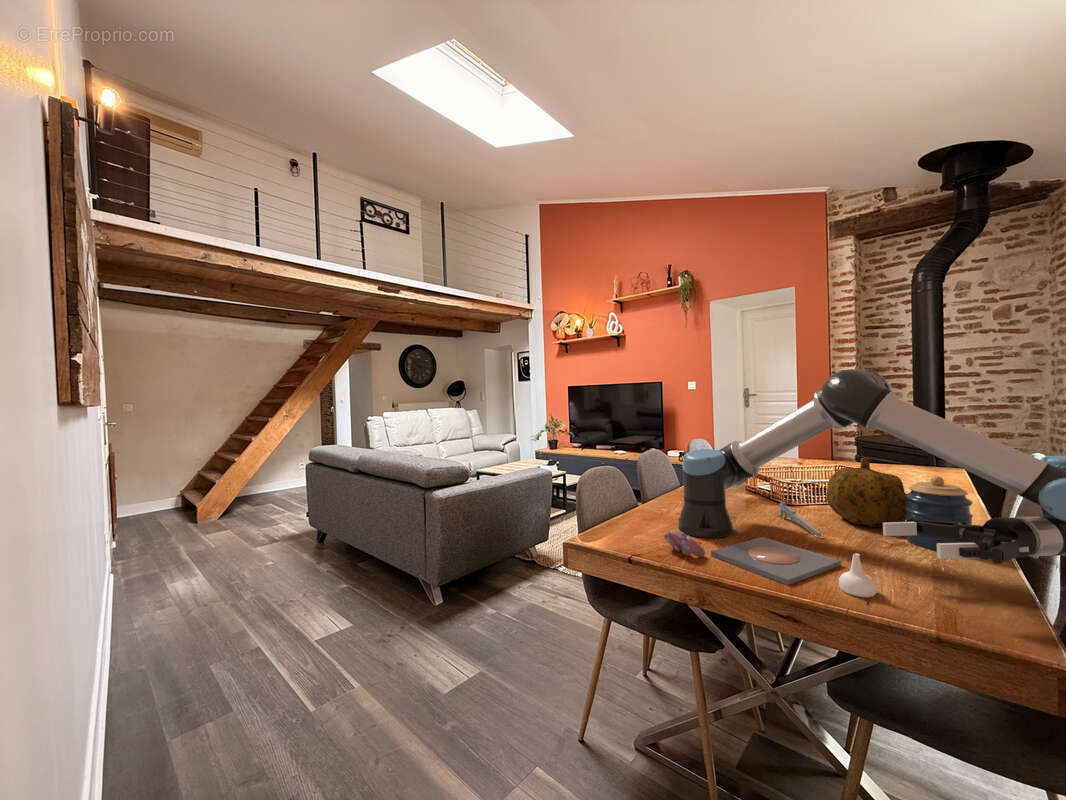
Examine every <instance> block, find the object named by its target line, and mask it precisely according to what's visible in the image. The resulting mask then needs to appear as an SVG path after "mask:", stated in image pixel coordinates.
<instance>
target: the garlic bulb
mask: <svg viewBox="0 0 1066 800" xmlns="http://www.w3.org/2000/svg"><path fill="white" fill-rule="evenodd" d="M860 556H861V554H860V553H856V552H855V553H853V554H852V557H851V558H852V560H851V564H850V569H849V571H845V572H843V573H842V574H841V575H840V576H839V578H838V585H839V588H840V590H842V591H843V592H844V593H846V594H849V595H850V596H855V597H859V598H872V597H875V596H876V595H877V592H878V586H877V584H876V582H875V580H874V579H873V578H872V577H871V576H870V575H868V574H866V573H864V570H863V567H862V563H861V557H860Z"/></svg>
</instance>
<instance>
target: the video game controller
mask: <svg viewBox="0 0 1066 800" xmlns="http://www.w3.org/2000/svg"><path fill="white" fill-rule="evenodd" d="M663 537H664V540H665V541H666V543H668V544H669V545H671V546H672V548H673V549H674V550H675V551H676V552H678V553H679V552H682V554H683V555H685V556H687V557H688V556H689V555H691V554H693V555H694V556H696V557H698V558H704V557H705V553H706V552H705V550H704V548H703V546H700V544H698V543H697V542H696V541H695V540H694V539H693V538H691V537H692V536H691V535H688V534H686V533H683V532H682V531H680V530H673V529H671V530H669V531H667V532H666V533H664V535H663Z"/></svg>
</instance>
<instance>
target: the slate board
mask: <svg viewBox="0 0 1066 800" xmlns="http://www.w3.org/2000/svg"><path fill="white" fill-rule="evenodd" d="M710 556H711V557H713V558H715V559H718V560H721V561H723V562H726V563H729V564H731V565H734V566H736V567H739V568H742V569H744V570H747V571H750V572H753V573H755V574H757V575H760V576H762V577H765V578H768V579H770V580H773V581H776V582H778V583H781V584H783V585H786V586H789V585H792V584H795V583H797V582H798V583H799V582H801V581H804V580H806V579H809V578H811V577H814V576H818V575H819V574H820V575H821V574H822V573H825V572H829V571H830V569H831V570H834V569H835V567H836V568H838V566H839V567H840V566H842V560H839V559H837V558H833V557H831V556H827V555H824V554H820V553H817V552H814V551H811V550H807V549H804V548H801V547H797V546H794V545H790V544H787V543H784V542H781V541H778V540H773V539H771V538H767V537H764V536H761V537H757V538H754V539H750V540H747V541H743V542H739V543H735V544H730V545H728V546H725V547H721V548H718V549H713V550H711V551H710Z"/></svg>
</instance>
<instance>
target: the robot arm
mask: <svg viewBox="0 0 1066 800" xmlns="http://www.w3.org/2000/svg"><path fill="white" fill-rule="evenodd" d="M854 423H855V424H857V425H859V426H861V427H863V428H866V429H868V430H869V429H875V428H876V429H878V430H880V431H883V432H884V433H886V434H889V435H891V436H893V437H895V438H897V439H899V440H901V441H904V442H905V443H908V444H910V445H912V446H914V447H916V448H918V449H920V450H923V451H925V452H927V453H929V454H931V455H933V456H936V457H937V458H939V459H942V460H944V461H946V462H948V463H949V464H952V465H954V466H957V467H958V468H961V469H963V470H965V471H967V472H969V473H971V474H973V475H976V477H977V476H978V477H980V478H981V479H984V480H986V481H988V482H990V483H992V484H995V485H996V486H998V487H1000V488H1003V489H1005V490H1007V491H1009V492H1011V493H1013V494H1015V495H1018V496H1019V497H1022V498H1023V499H1025V500H1027V501H1029V502H1030V503H1034V504H1035V505H1037V506H1039V507H1040V510H1041V511H1040V512H1041V516H1012V517H1010V516H1009V517H992V518H990V519H988V520H986V521H985V523H984V524H983V525H981V524H972V525H966V522H962V521H961V522H949V521H936V520H923V519H912V518H909V519H908V522H906V521H904V522H888V523H883V526H882V535H883V536H885V537H899V536H900V537H901V536H904V537H907V536H908V535H912V536H914V537H915V535H917V534H924V535H931V536H938V537H946V538H953V539H955V540H956V541H958V542H965V543H937V550H936V558H937V559H939V560H963V559H964V560H965V559H967V560H969V559H973V560H974V559H980V560H983V561H988V560H992V562H993V563H995V564H999V565H1000V564H1004V563H1007V562H1009V561H1012V560H1015V559H1017V558H1023V557H1032V558H1033V559H1038V558H1039V557H1056V556H1059V557H1061V556H1063V557H1064V556H1065V557H1066V455H1047V456H1046V455H1045V456H1042V457H1041V458H1040V459H1039V458H1037V457H1035V456H1032V455H1030V454H1028V453H1026V452H1023V451H1020V450H1018V449H1016V448H1015V447H1014V448H1013V447H1011V446H1010V445H1006V444H1005V443H1001V442H999V441H997V440H995V439H993V438H990V437H988V436H986V435H983V434H981V433H979V432H976V431H974V430H972V429H969V428H966V427H964V426H962V425H960V424H957V423H955V422H953V421H950V420H949V419H946V418H943V417H941V416H939V415H936V414H934V413H932V412H931V411H930V412H929V411H927V410H925V409H923V408H920V407H918V406H916V405H913V404H911V403H909V402H906V401H904V400H901V399H899V398H898V397H897V395H896V393H895V391H893V390H891V387H890V384H889V383H888V381H887V380H886V379H885V378H884V376H882V375H881V374H879V373H878V372H875V371H873V370H871V369H870V370H869V369H845V370H840V371H837V372H835V373H833V374H832V375H830V376H829V377H828V378H827V379H826V380H825V382H824V383H823V385H822V387H821V388H819V389H817V390H816V391H815V392H814V395H813V398H812V400H811V401H808V402H807V403H805V404H804V405H802V406H800V407H798V408H797V409H795V410H793V411H792V412H790V413H789V414H787V415H786V416H784V417H782V418H780V419H778V420H777V421H776V422H774V423H772V424H770V425H769V426H767V427H765V428H763V429H762V430H760V431H758V432H757V433H756V434H754V435H752V436H751V437H749V438H747V439H745V440H744V441H738V440H733V441H732V442H730V443H728V444H727V445H725V446H724V447H722V448H721V449H714V448H713V449H712V448H701V449H695V450H690V451H688V452H686V453H685V454H684V455H683V458H682V468H681V469H682V477H683V478H682V479H683V481H682V485H683V505H682V509H681V511H680V517H679V518H678V521H677V522H678V525H677V526H678V531H681V532H683V533H685V534H686V535H688V536H691V537H697V538H711V539H715V538H716V539H718V538H719V539H720V538H725V537H730V536H731V535H732V534H733V532H734V526H733V522H732V520H731V517H730V514H729V511H728V509H727V505H726V504H727V501H726V497H727V496H726V495H727V493H726V490H727V489H730V488H733V487H736V486H740V485H743V484H744V483H746V481H748V480H749V479H750V478H753V477H755V476H756V475H758V474H759V472H760V468H761V466H763V465H765V464H767V463H770V462H771V461H773V460H775V459H777V458H778V457H780V456H782V455H784V454H786V453H788V452H790V451H791V450H793V449H795V448H797V447H799V446H800V445H803V444H804V443H806V442H808V441H809V440H812V439H814V438H815V437H817V436H819V435H821V434H823V433H824V432H826V431H829V430H831V429H833V428H834V427H840V428H847V427H848V426H851V425H852V424H854ZM960 535H963V538H960Z"/></svg>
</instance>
